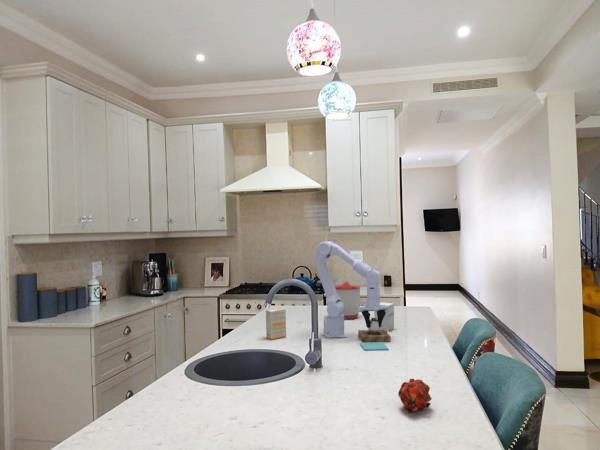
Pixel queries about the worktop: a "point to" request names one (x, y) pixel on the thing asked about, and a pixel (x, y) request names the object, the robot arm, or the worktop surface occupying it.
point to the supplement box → (275, 323)
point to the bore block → (374, 336)
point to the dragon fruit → (415, 395)
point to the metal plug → (373, 327)
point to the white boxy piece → (387, 317)
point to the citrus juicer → (349, 299)
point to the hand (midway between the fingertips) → (373, 327)
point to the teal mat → (373, 346)
